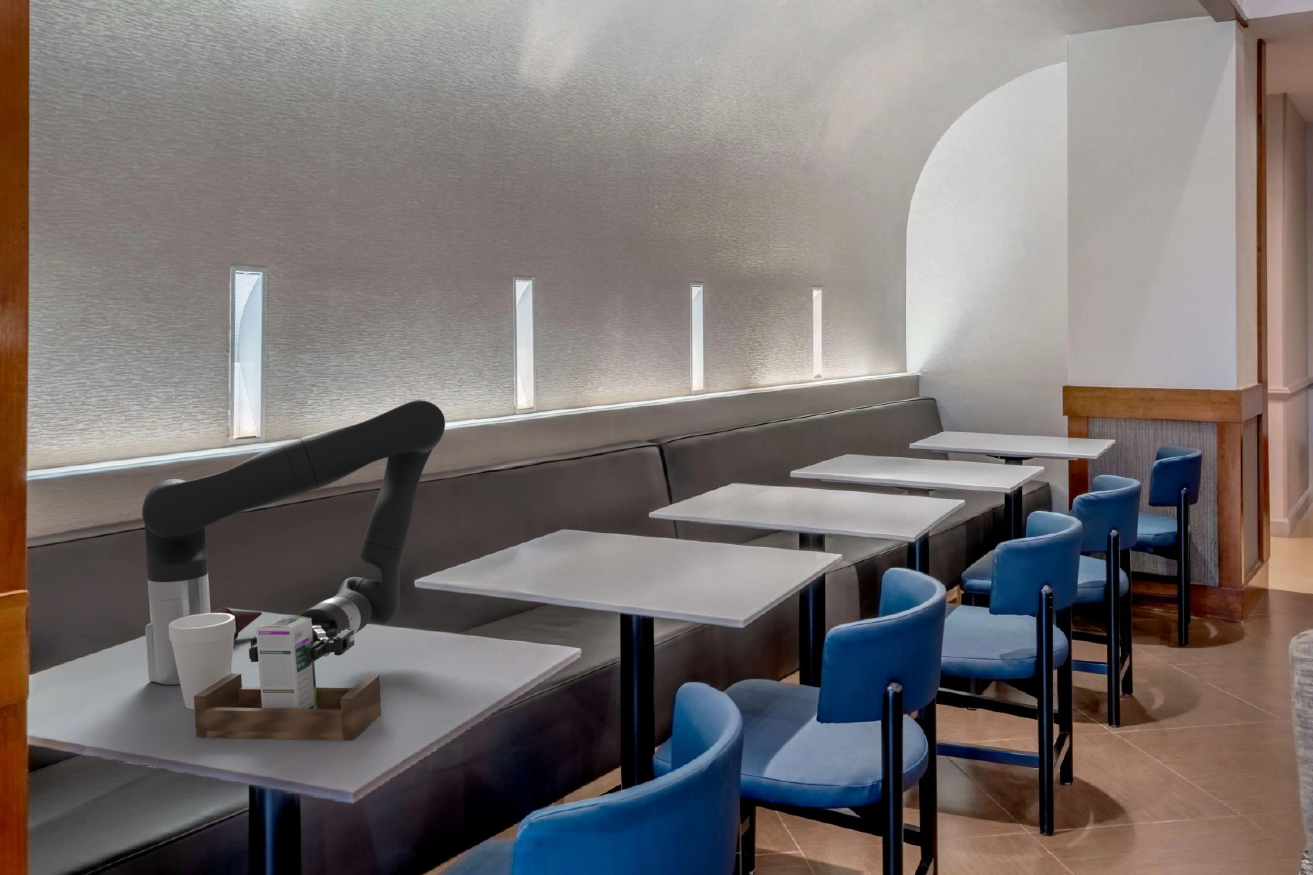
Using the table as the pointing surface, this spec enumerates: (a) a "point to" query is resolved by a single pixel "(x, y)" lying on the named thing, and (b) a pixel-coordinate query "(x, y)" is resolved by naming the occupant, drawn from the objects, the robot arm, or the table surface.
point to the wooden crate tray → (285, 712)
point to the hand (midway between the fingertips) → (280, 655)
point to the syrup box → (286, 663)
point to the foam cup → (202, 651)
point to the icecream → (240, 618)
